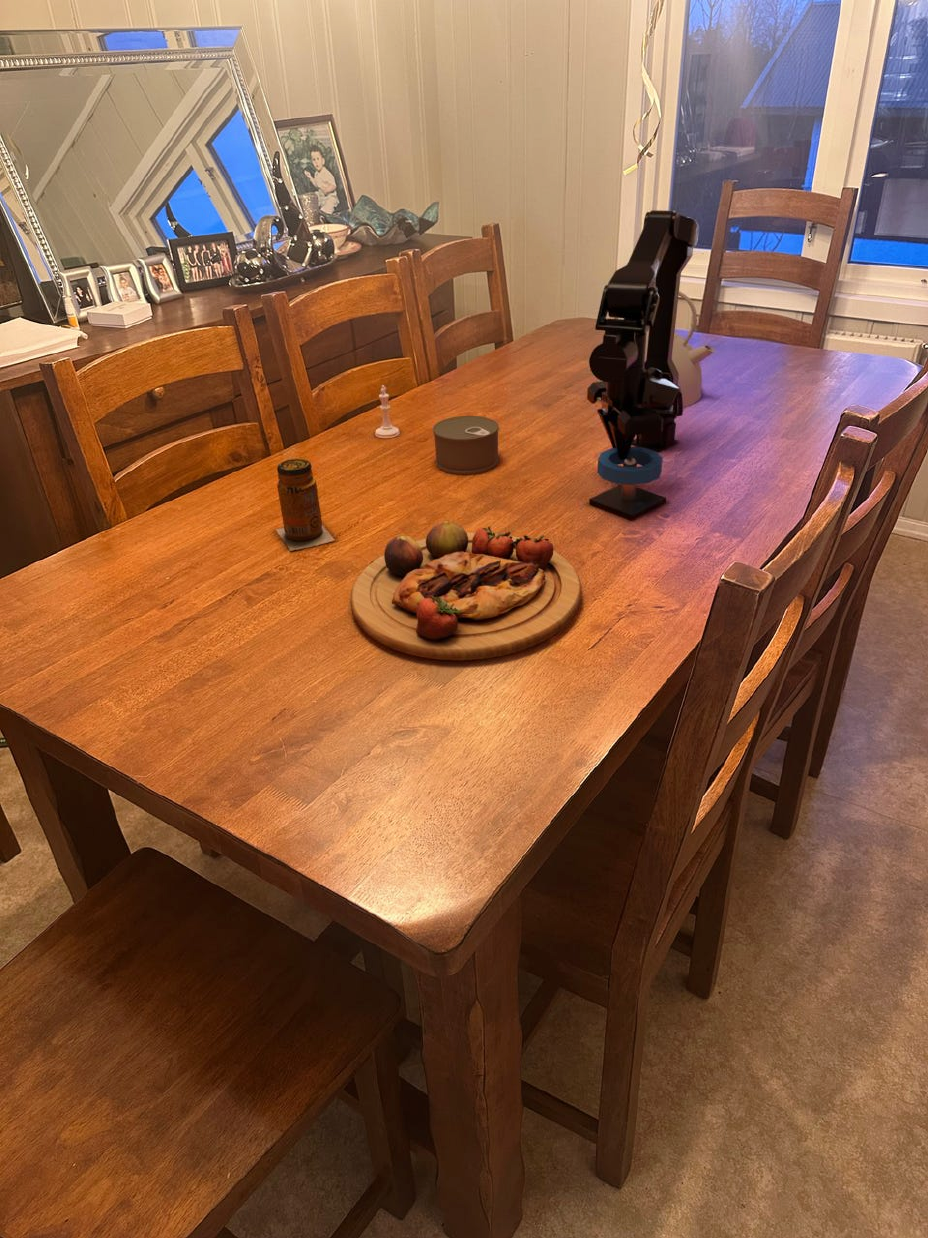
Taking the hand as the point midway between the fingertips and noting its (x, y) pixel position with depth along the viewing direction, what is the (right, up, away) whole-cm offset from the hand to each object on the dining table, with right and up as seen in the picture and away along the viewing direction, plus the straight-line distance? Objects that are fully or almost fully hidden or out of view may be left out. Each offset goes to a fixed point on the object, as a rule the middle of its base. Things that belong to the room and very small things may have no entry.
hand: (620, 456), depth 145 cm
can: (-25, +2, +18) cm, 31 cm away
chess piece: (-42, +10, +32) cm, 54 cm away
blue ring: (+1, -3, -3) cm, 4 cm away
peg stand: (+1, -8, 0) cm, 8 cm away
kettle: (+15, +22, +46) cm, 53 cm away
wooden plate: (-26, -24, -23) cm, 42 cm away
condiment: (-51, -14, -5) cm, 54 cm away
